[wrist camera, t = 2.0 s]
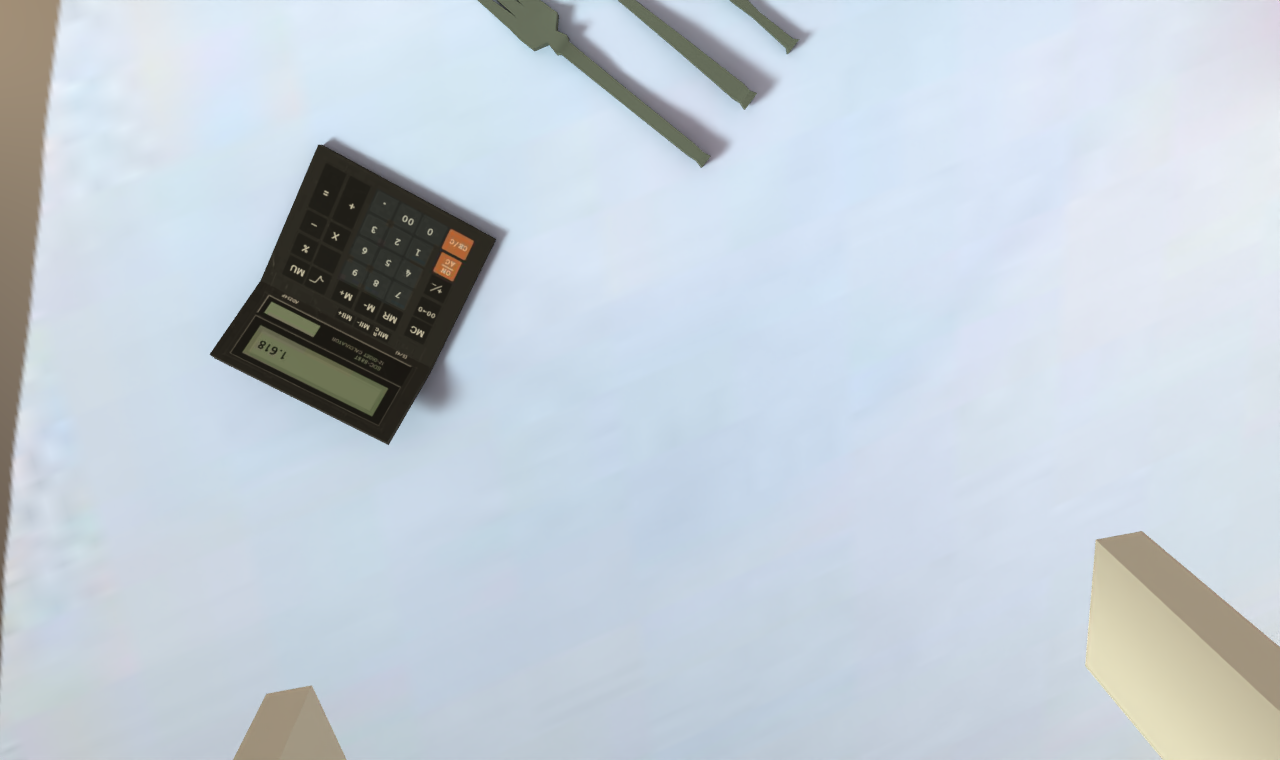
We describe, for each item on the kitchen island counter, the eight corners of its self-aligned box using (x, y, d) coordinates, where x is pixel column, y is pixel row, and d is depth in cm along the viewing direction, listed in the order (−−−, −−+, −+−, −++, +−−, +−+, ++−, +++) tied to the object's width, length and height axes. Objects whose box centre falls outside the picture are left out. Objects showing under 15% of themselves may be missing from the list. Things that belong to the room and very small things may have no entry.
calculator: (497, 238, 38) (485, 242, 35) (402, 431, 40) (383, 449, 37) (325, 145, 37) (298, 141, 34) (238, 349, 39) (206, 361, 36)
